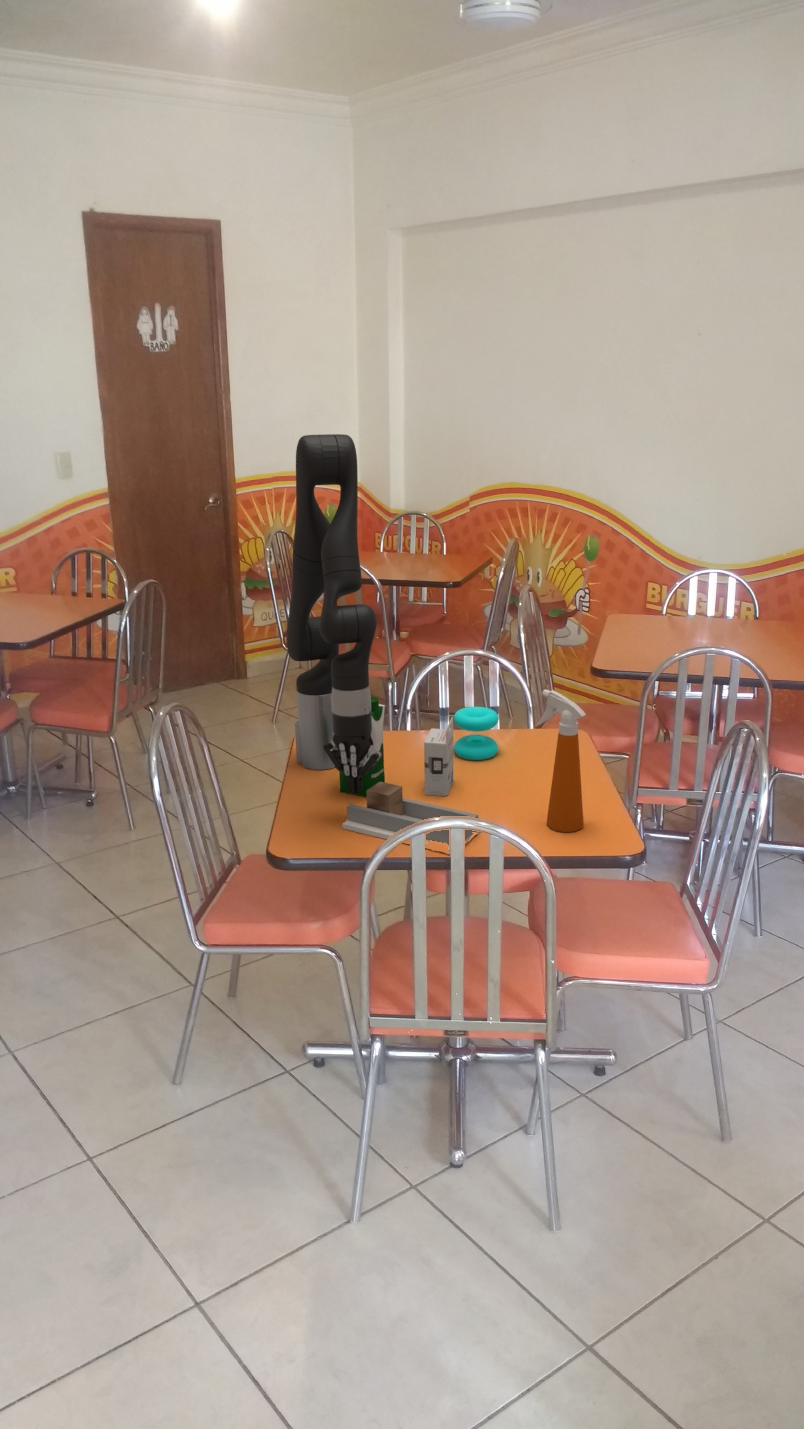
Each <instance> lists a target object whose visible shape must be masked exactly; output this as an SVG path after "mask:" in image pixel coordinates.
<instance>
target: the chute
mask: <svg viewBox="0 0 804 1429" xmlns="http://www.w3.org/2000/svg"><path fill="white" fill-rule="evenodd" d="M346 815H347V816H346V818H347V820H346V821H344V822H342V823H341V824H342V829H344V830H347V831H350V832H355V833H360V834H363V835H367V836H371V837H375V838H378V839H379V838H380V839H384V840H387V838H388V837H389V836H391V835H393V834H394V833H395V832H397V831H399V830H400V829H403V828H405V827H407V826H409V825H412V824H414V823H417V822H419V821H422V820H424V819H428V818H433V817H440V816H470V817H475V818H478V819H479V814H478V813H477V814H476V813H471V812H468V811H465V810H464V811H463V810H459V809H454V808H449V807H445V806H441V805H436V804H431V803H427V802H423V801H418V800H413V799H410V798H405V797H403V815H402V816H401V815H396V814H392V813H388V812H383V811H379V810H375V809H371V808H367V806H366V807H365V806H362V805H357V804H352V803H349V804H348V805H346ZM472 832H476V833H479V832H477V831H472V830H465V841H466V843H467V841H468V840H469V839H470V838H471V836H472V835H473V833H472ZM479 834H480V833H479ZM430 840H432V841H437V842H442V843H444V842H445V843H447V844H448V851H449V830H441V831H433V832H430V833H428V834H426V846H427V841H430ZM467 844H468V843H467Z"/></svg>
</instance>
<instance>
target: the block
mask: <svg viewBox="0 0 804 1429" xmlns="http://www.w3.org/2000/svg"><path fill="white" fill-rule="evenodd" d="M403 796H404V795H403V786H402V785H397V784H394V783H388V782H386V781H385V782H379V783H377V784H376V785H374V786H373V787H371V788H370V789H368V790H367V797H366V807H367V808H371V809H375V810H379V811H383V812H388V813H392V814H396V815H401V816H402V815H403V798H404V797H403Z"/></svg>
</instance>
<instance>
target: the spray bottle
mask: <svg viewBox="0 0 804 1429" xmlns="http://www.w3.org/2000/svg"><path fill="white" fill-rule="evenodd" d="M541 694H542V696H543V697H544V698H546V699H547V701H546V703H545V705H546V709H545V711H544V712H543V714H542V716H541V717H540V718H539V719H538V721H537V722H536V723H535V724H534V725H533V726H534V727H536V726H539V725H541V724H544V723H545V722H546V721H548V720H549V719H550V718H551V717H553V716H555V715H556V714H559V715H560V721H559V722H558V734H557V741H556V750H555V757H554V763H553V764H554V765H553V772H552V779H551V785H550V795H549V801H548V808H547V809H548V810H547V816H546V826H547V827H548V828H549V829H551V830H554V831H555V832H560V833H573V832H576V831H580V830H581V829H582V828H584V825H585V824H584V823H585V822H584V812H583V810H584V809H583V794H582V792H583V791H582V776H581V760H580V744H579V743H580V742H579V741H580V740H579V722H578V719H581V718H583V717H585V716H586V713H585V711H584V710H583V709H582V708H581V707H580V706H579V705H578V704H576V703H575V702H573V701H572V700H570V699H569V698H567V697H566V696H564V695H563V694H561V693H560V692H557V691H555V689H552V690H549V689H544V690H542V693H541Z"/></svg>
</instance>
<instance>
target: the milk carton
mask: <svg viewBox="0 0 804 1429" xmlns="http://www.w3.org/2000/svg"><path fill="white" fill-rule="evenodd" d="M385 710H386V705H385V704H381V703H379V698H378V697H375V696H371V717H372V731H371V738H372V740H373V746H374V747H375V748H376V749H377V750H378V751H379V750H381V751H383V753H384V719H385ZM384 754H385V753H384ZM368 755H369V752H368V753H367V755H366V756H365V762H364V765H365V763H366V762H367V761H368V760H369V758H368ZM384 760H385V758H384V755H383V756H382V757H381V759H380V760H379V761H378V763H377V764H376V765H375V766H374V768H373V769H372V770H371V771H370V772H368V773H367V774H365V775H364V776H362V785H363V788H362V790H361V791H360V792H359V793H357V794H352V793H349V790H347V786H346V785H347V784H346V775H345V773H344V772H343V771H339V772H338V773H339V774H338V775H339V793H343V794H349V795H354V796H359V797H364V798H367V790H368V789H370V788H371V787H373V786H374V785H376V784H377V783H379V782H385V783H386V781H385V778H386V777H385V776H386V775H385V761H384ZM339 762H340V761H339Z"/></svg>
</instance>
